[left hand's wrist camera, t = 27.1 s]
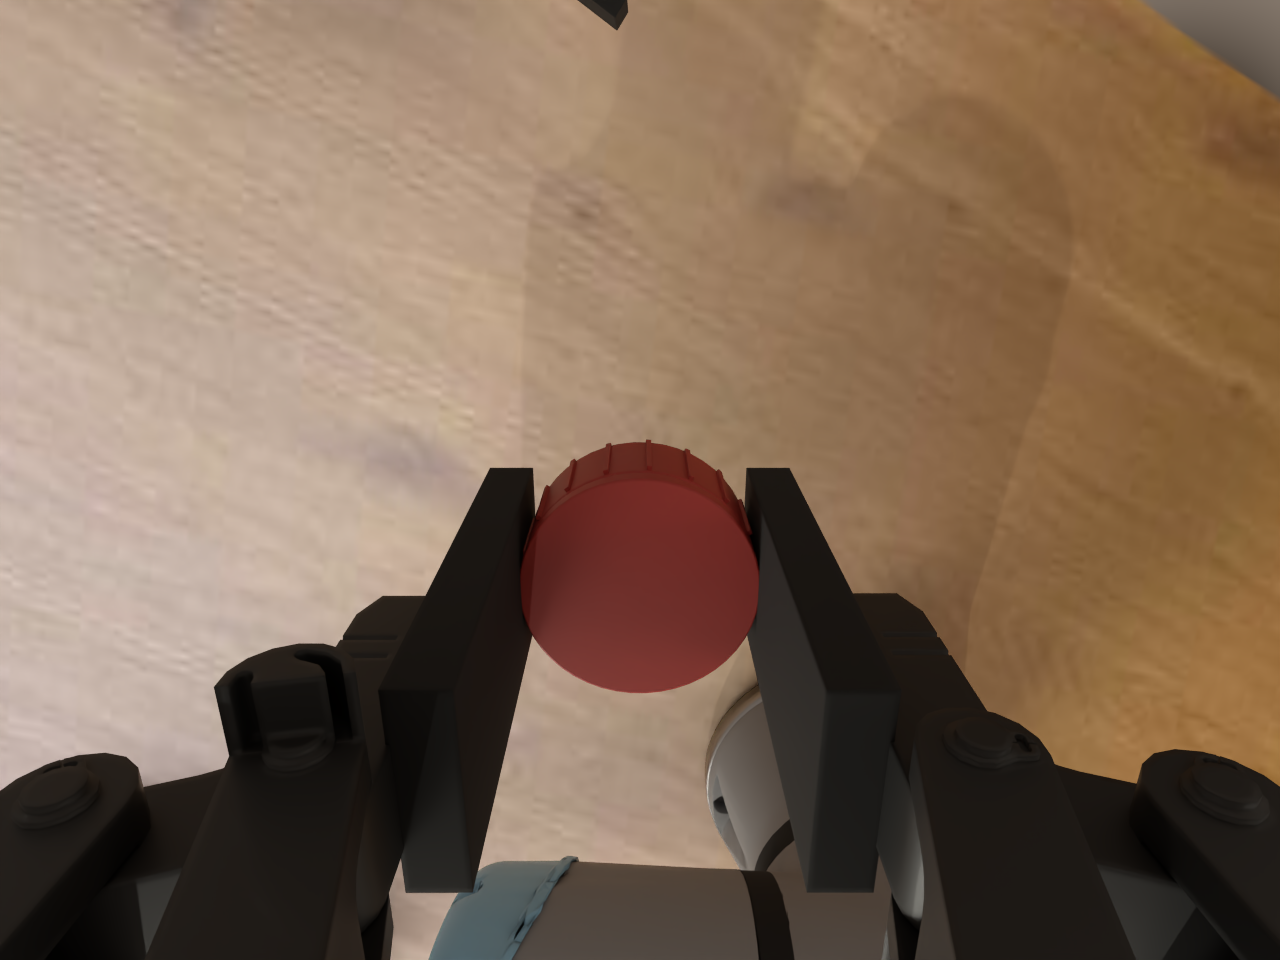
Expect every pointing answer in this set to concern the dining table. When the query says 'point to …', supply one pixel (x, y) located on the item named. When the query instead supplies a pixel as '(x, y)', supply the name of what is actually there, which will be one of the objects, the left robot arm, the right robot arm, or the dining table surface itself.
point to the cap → (639, 569)
